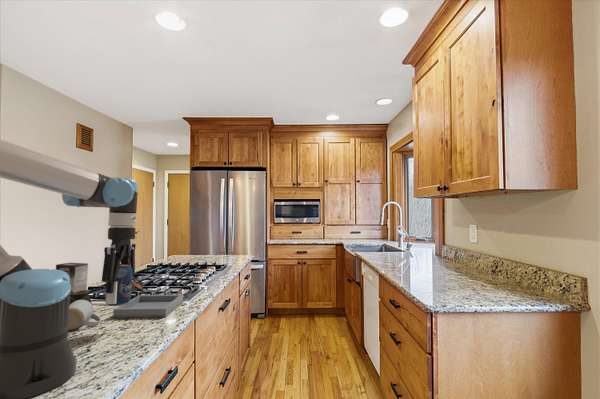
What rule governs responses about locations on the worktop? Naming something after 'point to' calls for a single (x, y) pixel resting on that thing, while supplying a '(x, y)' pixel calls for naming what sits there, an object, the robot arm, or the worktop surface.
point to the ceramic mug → (81, 314)
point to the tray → (148, 306)
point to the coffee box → (75, 274)
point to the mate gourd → (79, 296)
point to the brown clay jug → (137, 287)
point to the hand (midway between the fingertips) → (118, 300)
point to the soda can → (123, 285)
